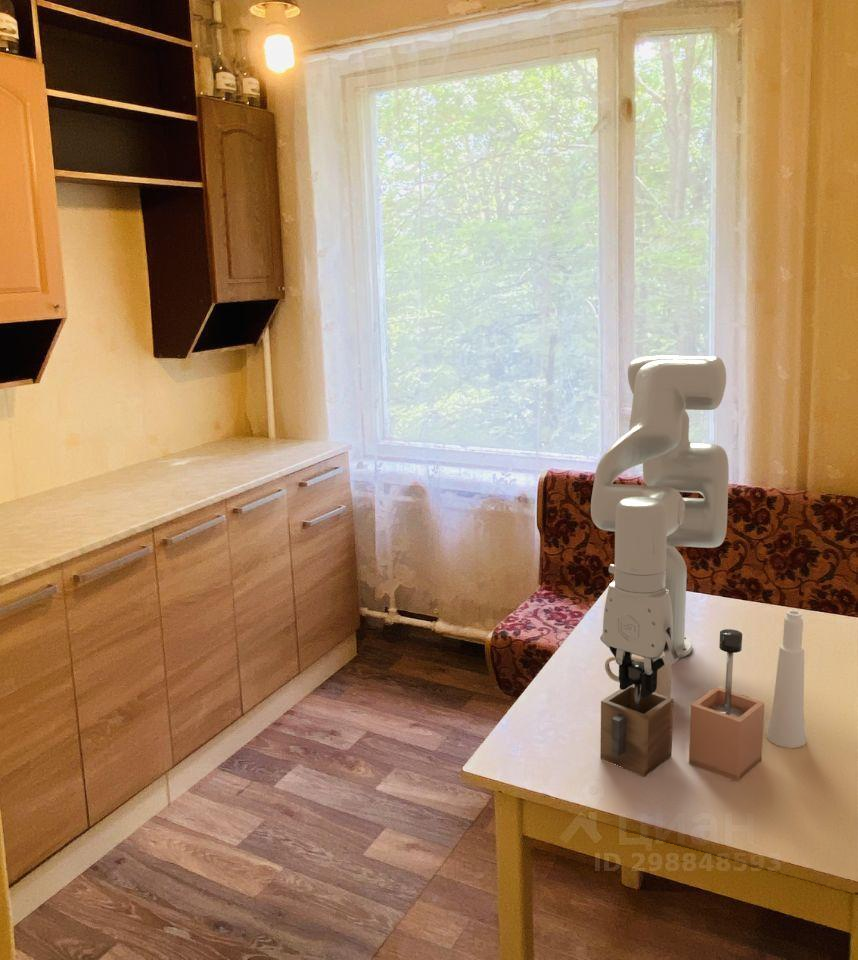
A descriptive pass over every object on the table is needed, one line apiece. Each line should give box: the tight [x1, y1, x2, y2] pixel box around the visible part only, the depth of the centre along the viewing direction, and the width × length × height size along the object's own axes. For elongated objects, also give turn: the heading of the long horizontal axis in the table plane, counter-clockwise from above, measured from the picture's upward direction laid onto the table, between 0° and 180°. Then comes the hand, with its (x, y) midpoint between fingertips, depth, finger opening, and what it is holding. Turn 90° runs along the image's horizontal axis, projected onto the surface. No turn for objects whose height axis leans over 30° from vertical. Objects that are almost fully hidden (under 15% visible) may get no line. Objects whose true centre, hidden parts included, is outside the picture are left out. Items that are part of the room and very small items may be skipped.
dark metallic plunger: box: [627, 661, 645, 712], centre depth 138 cm, size 6×6×14 cm
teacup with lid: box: [604, 651, 673, 698], centre depth 158 cm, size 12×9×12 cm
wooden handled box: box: [599, 685, 674, 778], centre depth 138 cm, size 8×10×10 cm
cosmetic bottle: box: [765, 609, 807, 749], centre depth 141 cm, size 6×6×22 cm
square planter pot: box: [688, 686, 766, 783], centre depth 137 cm, size 8×10×10 cm
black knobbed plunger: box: [709, 628, 745, 718], centre depth 134 cm, size 6×6×14 cm
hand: (637, 689), depth 137 cm, fingers closed on dark metallic plunger, 3 cm apart
